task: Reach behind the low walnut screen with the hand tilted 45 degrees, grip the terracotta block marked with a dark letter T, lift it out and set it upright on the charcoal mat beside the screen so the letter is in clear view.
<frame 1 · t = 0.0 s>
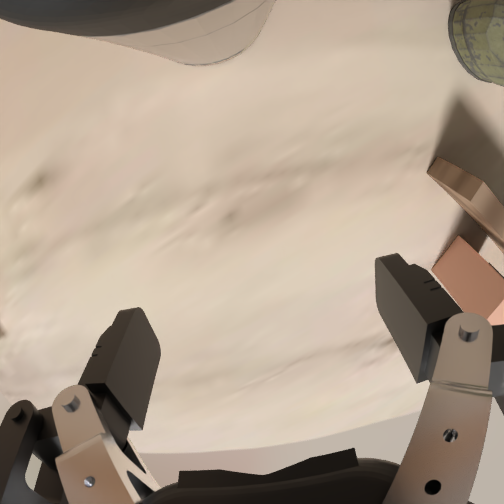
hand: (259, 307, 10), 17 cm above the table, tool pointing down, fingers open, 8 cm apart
marked block: (455, 261, 31), on the table
walnut screen: (486, 221, 29), on the table
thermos: (480, 41, 19), on the table
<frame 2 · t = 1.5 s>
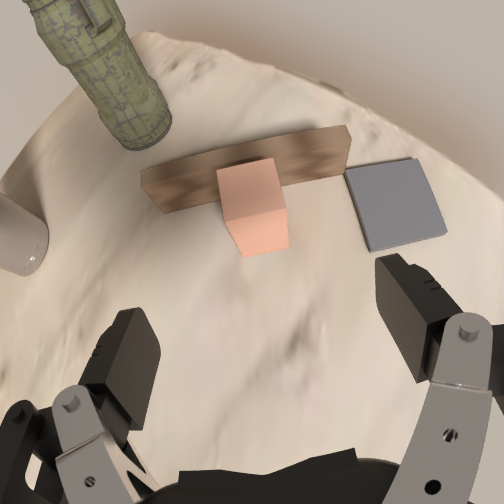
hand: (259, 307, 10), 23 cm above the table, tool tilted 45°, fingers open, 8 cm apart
marked block: (261, 231, 36), on the table
charcoal mat: (395, 203, 35), on the table
walnut screen: (252, 185, 38), on the table
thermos: (146, 128, 43), on the table
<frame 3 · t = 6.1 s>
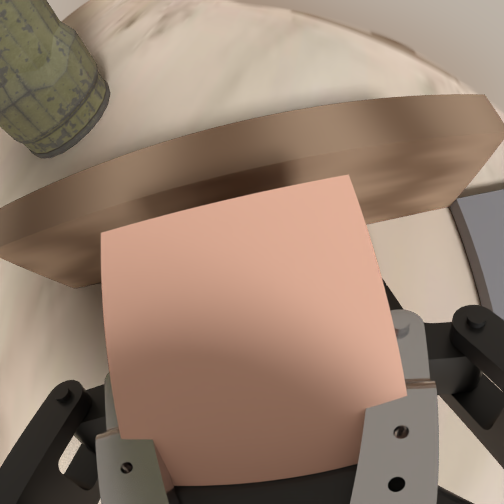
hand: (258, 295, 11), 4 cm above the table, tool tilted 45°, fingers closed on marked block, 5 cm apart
marked block: (277, 349, 14), on the table, touching gripper
walnut screen: (253, 230, 16), on the table
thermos: (69, 117, 22), on the table
when the fingers open (7 cm above the table, at t = 11.2 s): marked block drops 1 cm, resting on charcoal mat.
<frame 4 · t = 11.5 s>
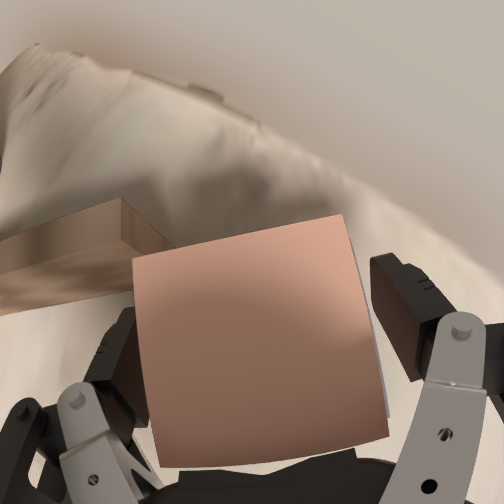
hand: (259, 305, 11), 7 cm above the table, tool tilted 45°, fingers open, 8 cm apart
marked block: (278, 351, 16), point 1 cm above the table, touching charcoal mat
charcoal mat: (279, 349, 17), on the table
walnut screen: (45, 293, 20), on the table
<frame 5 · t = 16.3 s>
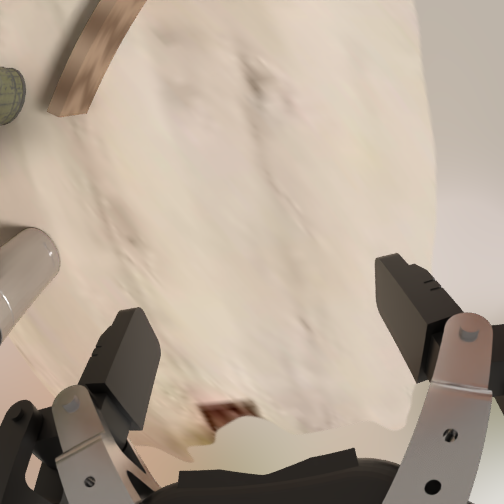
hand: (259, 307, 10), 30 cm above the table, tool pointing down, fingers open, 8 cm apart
walnut screen: (118, 33, 30), on the table
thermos: (6, 95, 31), on the table
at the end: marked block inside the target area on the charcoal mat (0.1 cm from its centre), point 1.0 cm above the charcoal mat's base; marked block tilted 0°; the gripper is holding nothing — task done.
